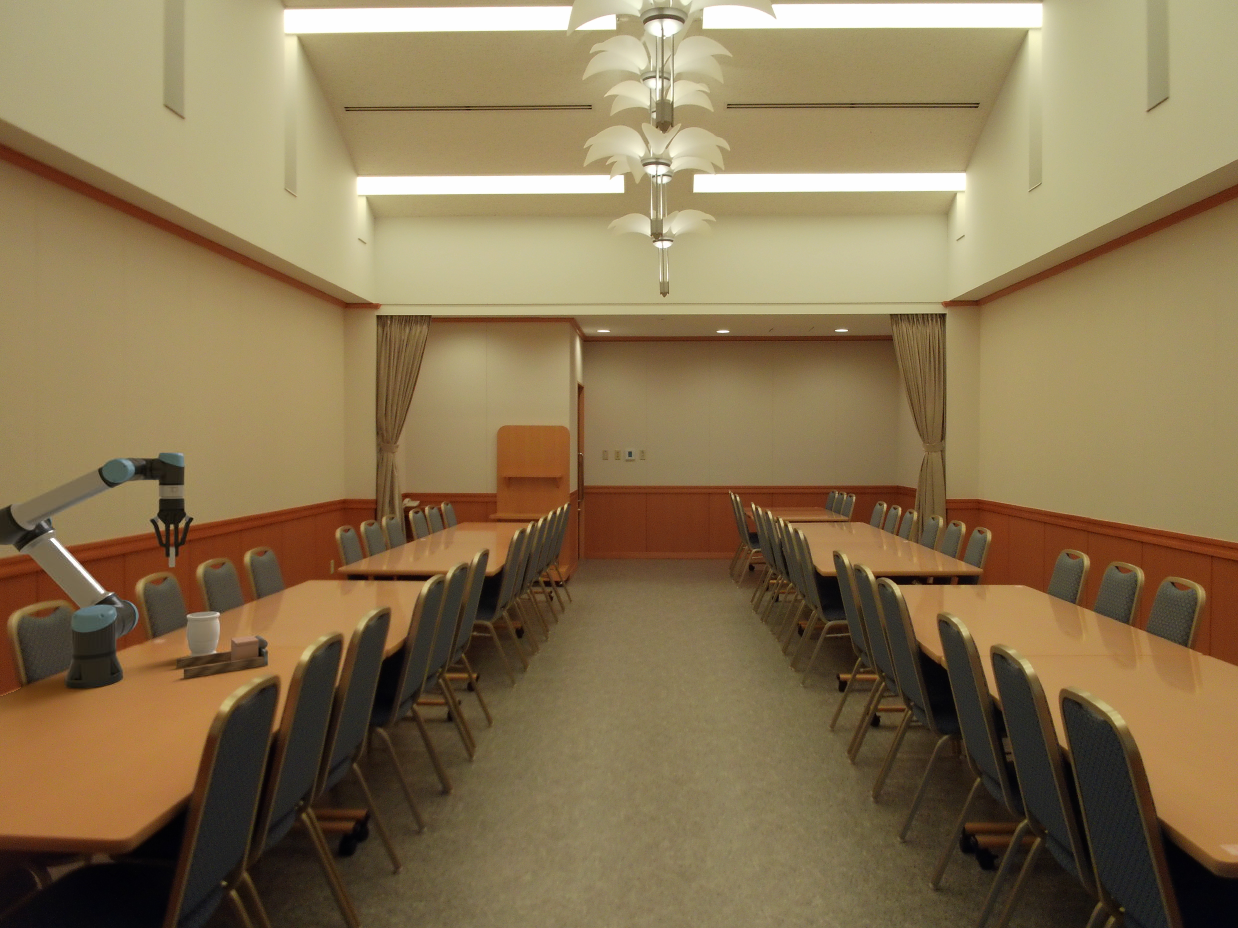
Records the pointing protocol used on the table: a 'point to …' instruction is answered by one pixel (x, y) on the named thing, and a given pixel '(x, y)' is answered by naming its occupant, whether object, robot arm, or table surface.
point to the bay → (220, 657)
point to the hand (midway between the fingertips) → (171, 566)
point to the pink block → (244, 648)
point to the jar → (203, 632)
